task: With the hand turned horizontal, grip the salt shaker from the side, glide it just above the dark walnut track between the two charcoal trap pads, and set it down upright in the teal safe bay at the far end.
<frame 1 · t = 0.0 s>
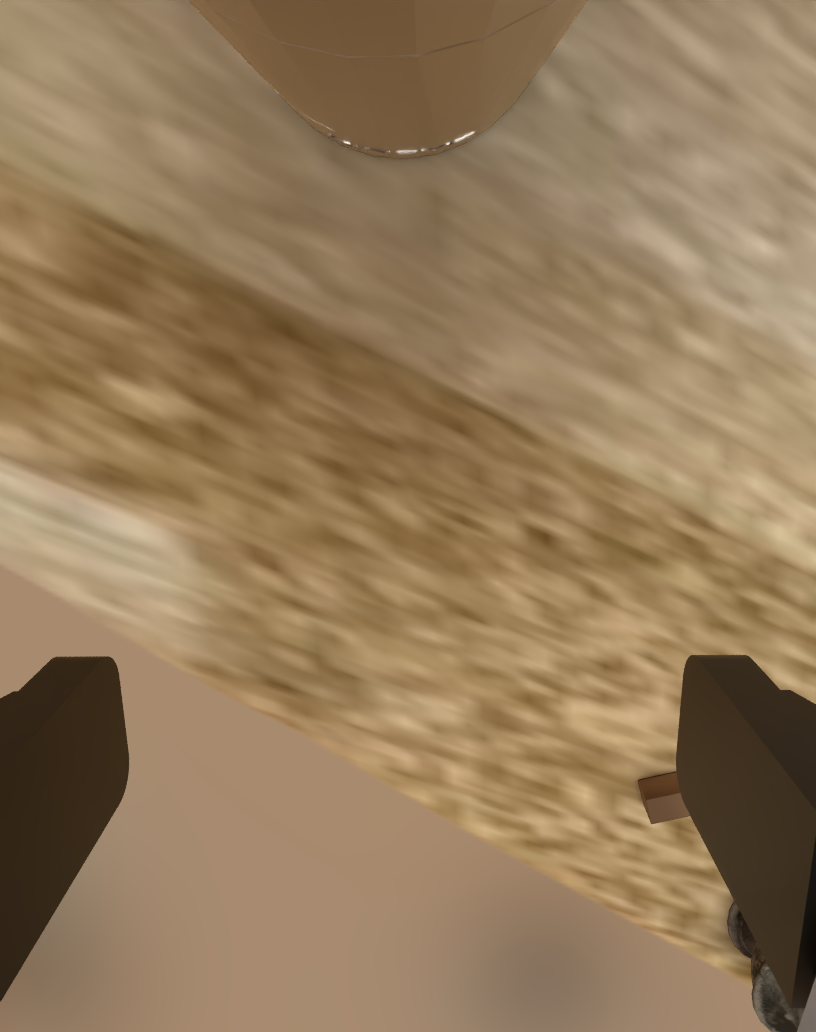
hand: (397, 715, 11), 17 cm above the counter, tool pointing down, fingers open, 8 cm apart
salt shaker: (786, 913, 34), on the counter
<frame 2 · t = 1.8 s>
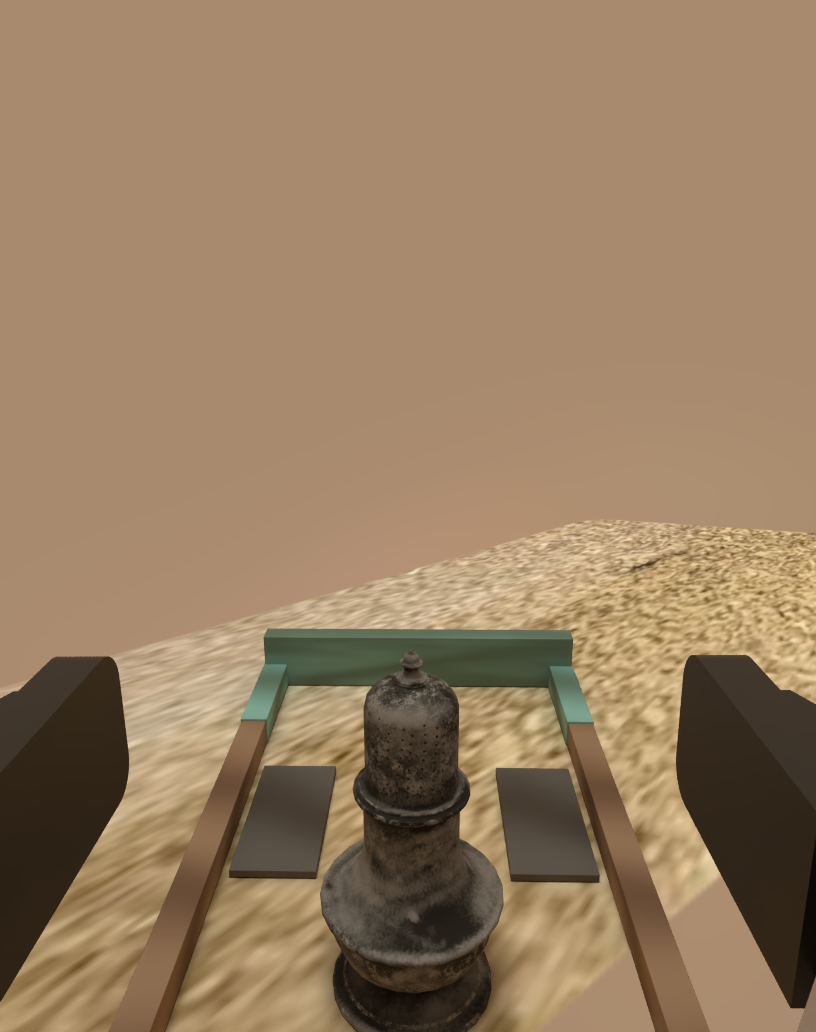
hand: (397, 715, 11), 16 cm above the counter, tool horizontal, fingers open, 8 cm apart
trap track: (414, 820, 34), on the counter
salt shaker: (412, 981, 26), on the counter
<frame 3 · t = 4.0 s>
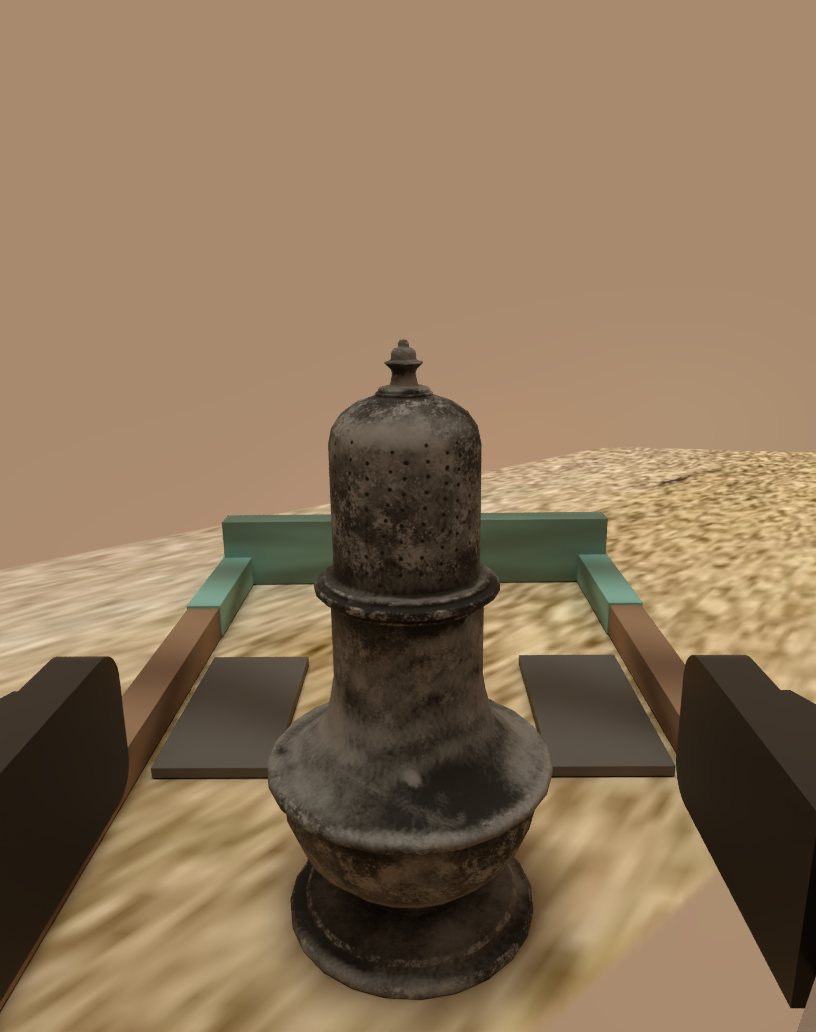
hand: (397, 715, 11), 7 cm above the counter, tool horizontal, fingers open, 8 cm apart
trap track: (412, 712, 25), on the counter
salt shaker: (411, 904, 17), on the counter
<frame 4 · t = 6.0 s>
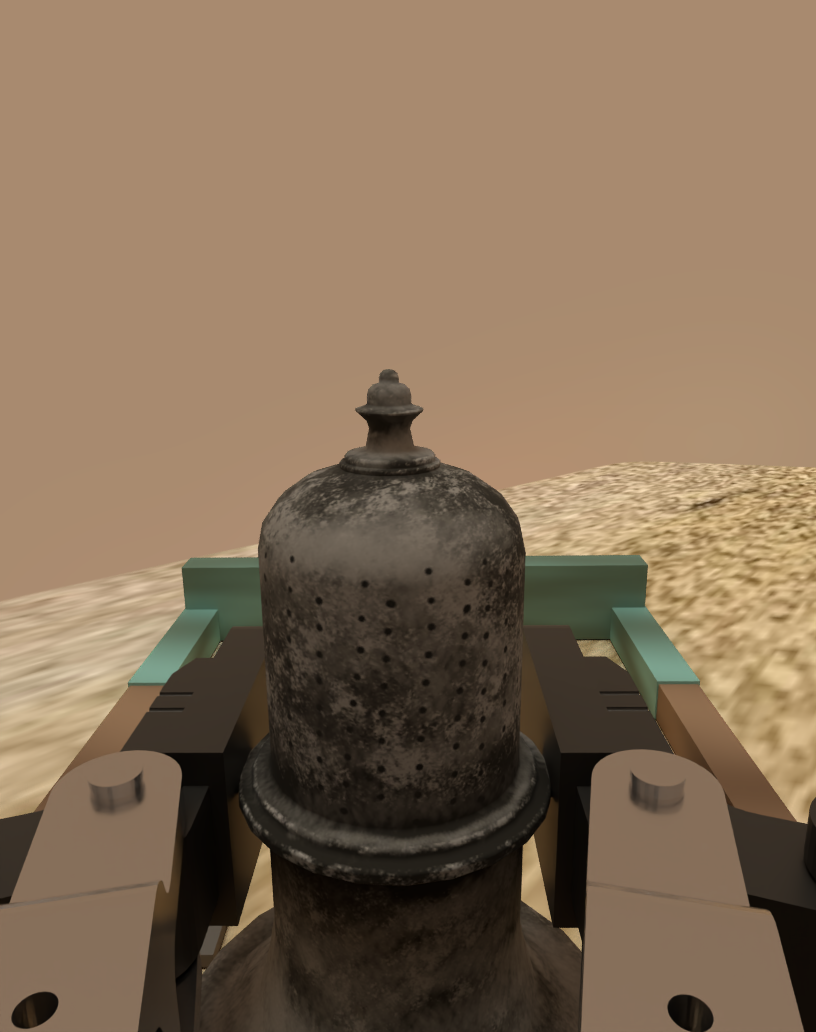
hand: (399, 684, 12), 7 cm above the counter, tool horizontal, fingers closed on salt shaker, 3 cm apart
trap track: (409, 848, 19), on the counter
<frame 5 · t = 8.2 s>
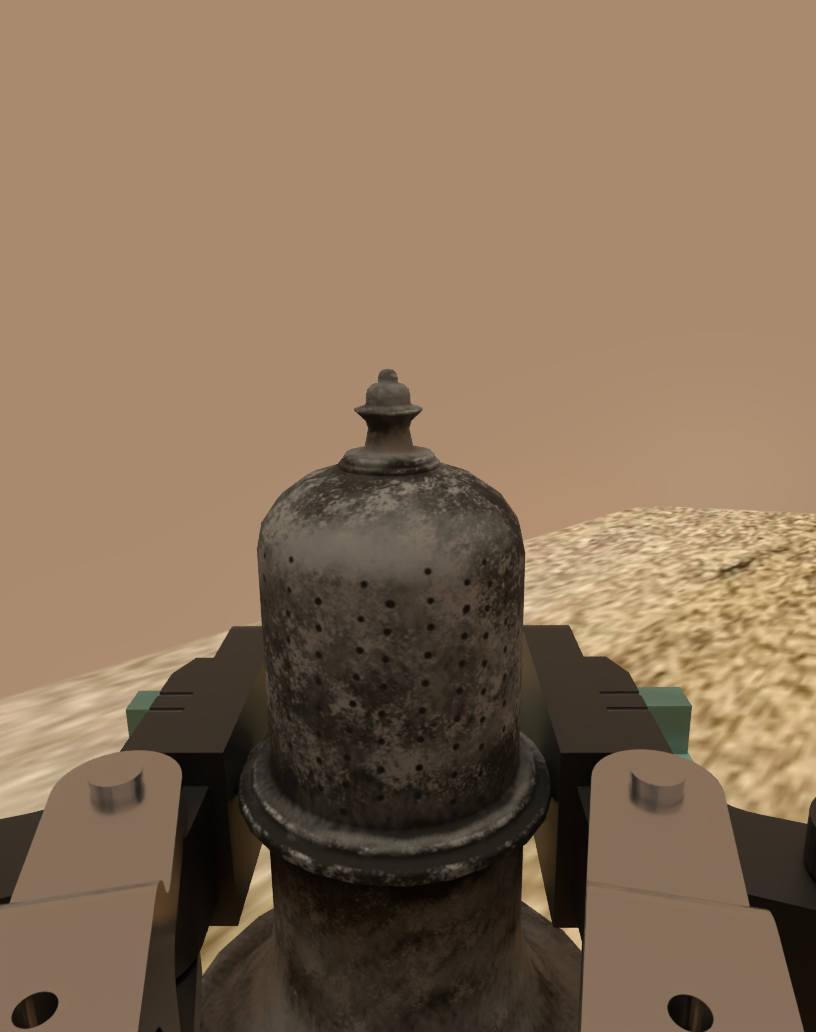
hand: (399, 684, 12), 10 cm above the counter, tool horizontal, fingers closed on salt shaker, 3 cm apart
when the fingers open (8 cm above the counter, at t = 10.4 s): salt shaker drops 1 cm, on the counter.
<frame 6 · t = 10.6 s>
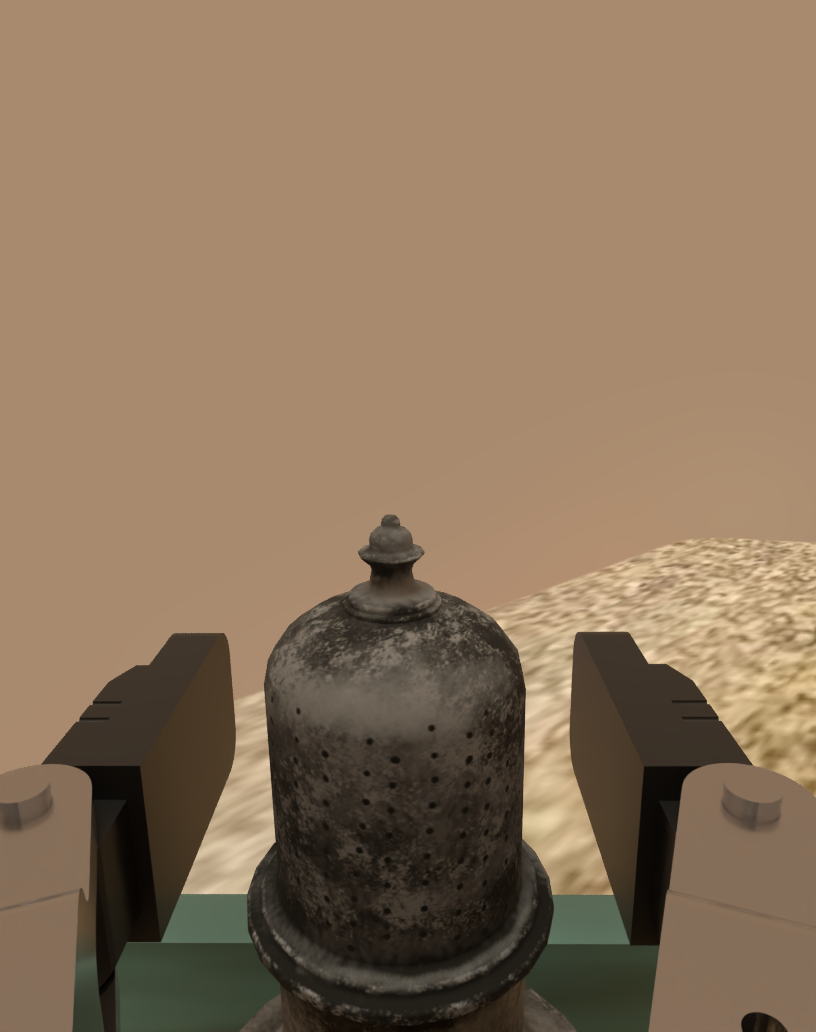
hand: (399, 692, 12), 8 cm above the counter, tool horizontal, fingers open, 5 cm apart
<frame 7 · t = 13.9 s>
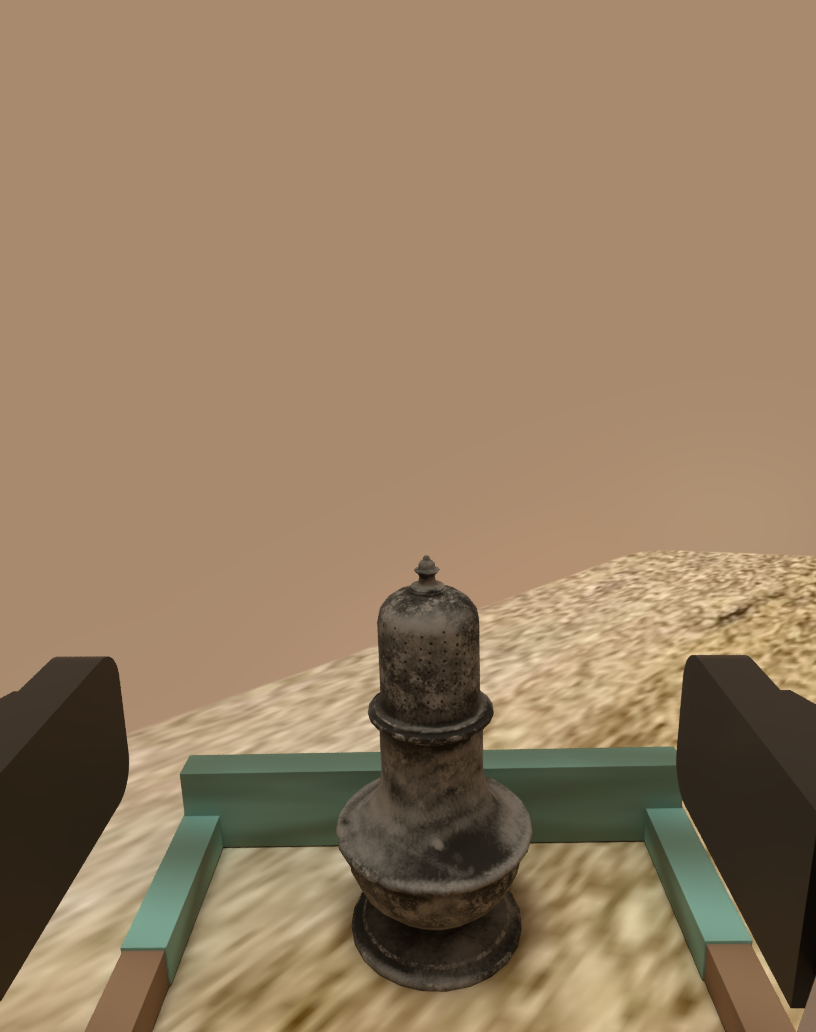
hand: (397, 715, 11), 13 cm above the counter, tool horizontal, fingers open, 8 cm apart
salt shaker: (436, 925, 25), on the counter
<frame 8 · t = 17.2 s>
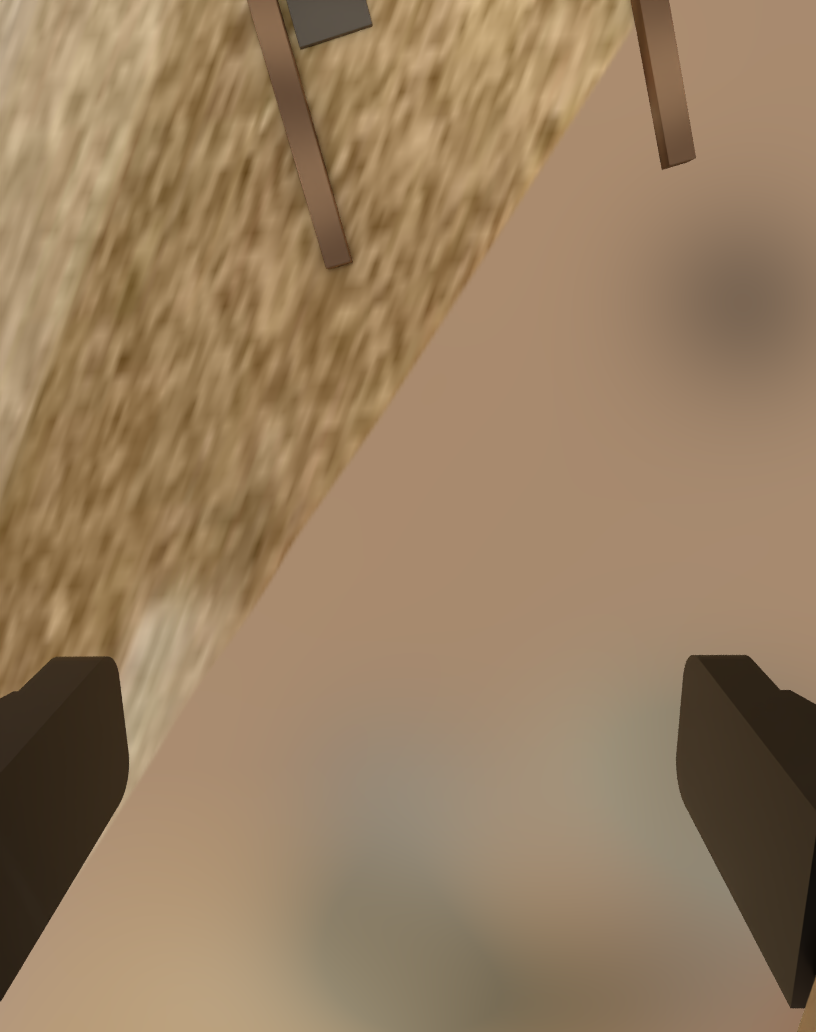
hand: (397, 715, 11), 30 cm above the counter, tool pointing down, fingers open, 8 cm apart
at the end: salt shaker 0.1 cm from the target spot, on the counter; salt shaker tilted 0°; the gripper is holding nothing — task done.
